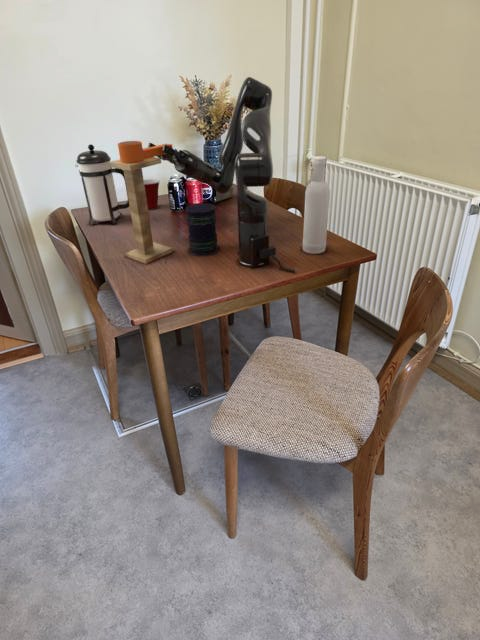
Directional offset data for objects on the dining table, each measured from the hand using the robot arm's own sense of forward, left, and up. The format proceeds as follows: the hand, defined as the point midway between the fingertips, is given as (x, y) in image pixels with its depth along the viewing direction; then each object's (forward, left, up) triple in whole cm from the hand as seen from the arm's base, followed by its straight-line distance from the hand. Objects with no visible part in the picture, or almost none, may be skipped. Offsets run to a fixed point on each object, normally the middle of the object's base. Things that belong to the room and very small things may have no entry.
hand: (156, 146), depth 133 cm
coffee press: (+42, +9, -34) cm, 54 cm away
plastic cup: (+48, -12, -34) cm, 59 cm away
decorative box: (+38, -40, -34) cm, 64 cm away
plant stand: (-3, +8, -33) cm, 35 cm away
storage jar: (-10, -9, -34) cm, 36 cm away
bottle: (-32, -40, -34) cm, 61 cm away
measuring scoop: (-1, +4, -2) cm, 5 cm away
